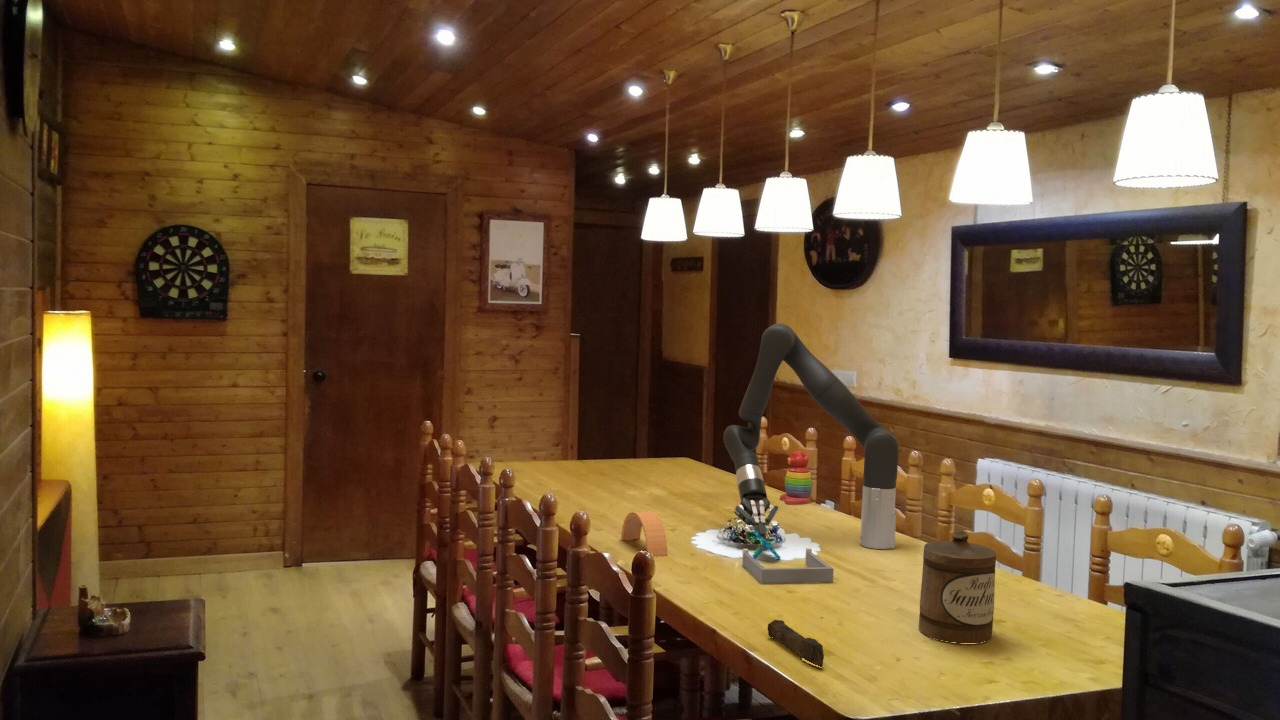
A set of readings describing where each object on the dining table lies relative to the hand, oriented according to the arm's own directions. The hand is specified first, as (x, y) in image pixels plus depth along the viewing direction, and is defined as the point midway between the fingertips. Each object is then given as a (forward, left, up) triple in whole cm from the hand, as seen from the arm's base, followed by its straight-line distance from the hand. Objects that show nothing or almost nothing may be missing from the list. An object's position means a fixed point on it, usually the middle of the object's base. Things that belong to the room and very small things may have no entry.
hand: (761, 536), depth 274 cm
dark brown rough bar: (-4, +78, -5) cm, 78 cm away
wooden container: (-38, +60, -5) cm, 72 cm away
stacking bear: (-15, -74, -5) cm, 76 cm away
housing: (-5, +20, -4) cm, 21 cm away
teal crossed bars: (-1, +6, -5) cm, 7 cm away
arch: (+32, +1, -5) cm, 33 cm away
